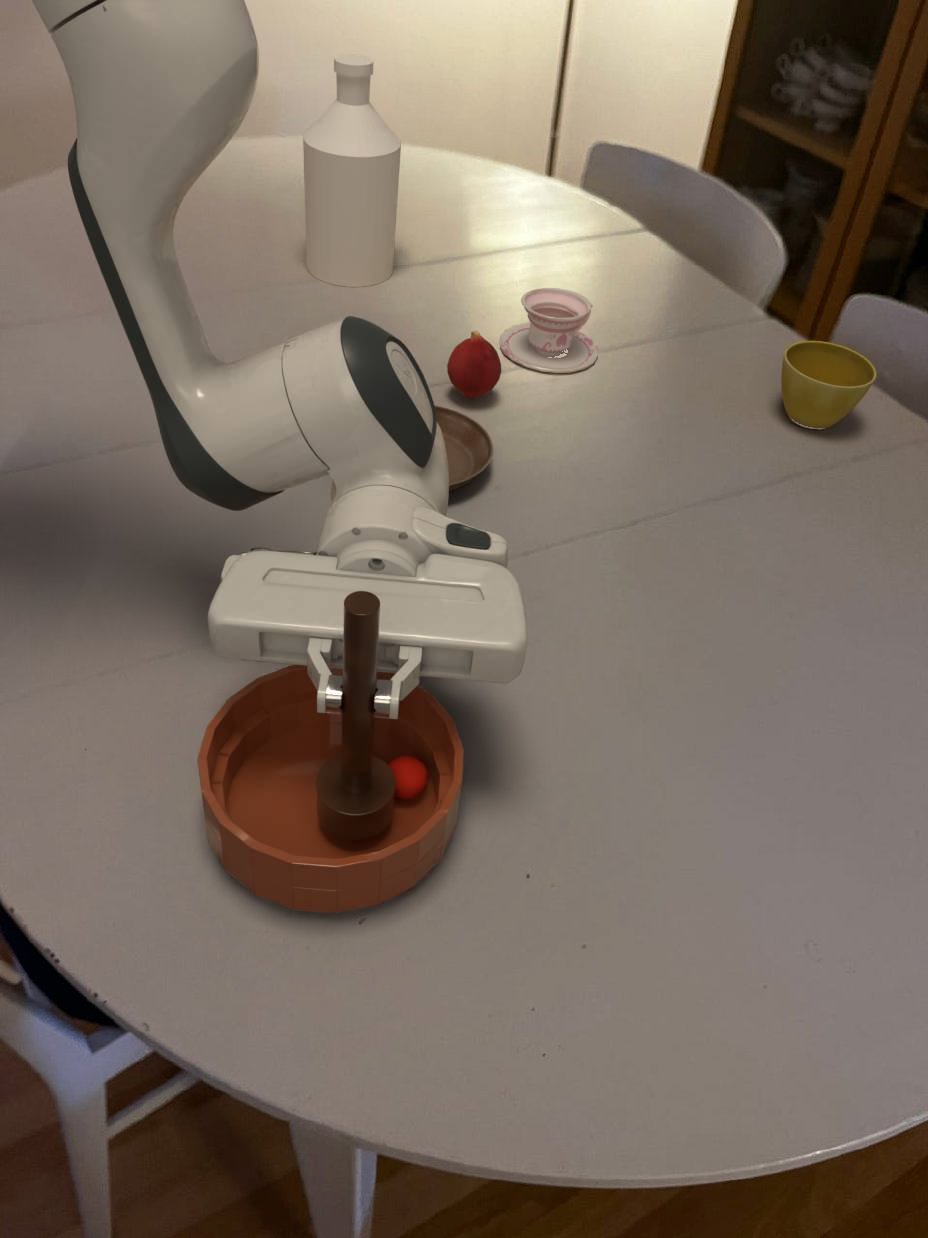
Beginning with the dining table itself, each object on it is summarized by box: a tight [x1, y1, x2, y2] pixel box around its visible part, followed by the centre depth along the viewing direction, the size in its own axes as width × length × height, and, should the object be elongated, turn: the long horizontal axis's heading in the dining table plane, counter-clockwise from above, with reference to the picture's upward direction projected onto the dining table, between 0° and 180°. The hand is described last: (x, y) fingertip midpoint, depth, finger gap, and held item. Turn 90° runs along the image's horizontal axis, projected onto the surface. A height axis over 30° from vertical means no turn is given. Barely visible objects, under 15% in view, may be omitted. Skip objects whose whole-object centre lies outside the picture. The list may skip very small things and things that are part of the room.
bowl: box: [196, 664, 465, 914], centre depth 69 cm, size 17×17×6 cm
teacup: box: [499, 287, 599, 374], centre depth 121 cm, size 12×12×6 cm
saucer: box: [434, 404, 494, 492], centre depth 102 cm, size 15×15×3 cm
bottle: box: [302, 53, 402, 288], centre depth 126 cm, size 12×12×25 cm
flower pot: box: [780, 340, 877, 429], centre depth 115 cm, size 10×10×7 cm
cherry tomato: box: [389, 756, 428, 799], centre depth 71 cm, size 3×3×3 cm
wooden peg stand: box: [316, 591, 396, 840], centre depth 62 cm, size 5×5×19 cm
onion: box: [446, 330, 502, 401], centre depth 111 cm, size 6×6×8 cm
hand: (357, 709), depth 61 cm, fingers closed on wooden peg stand
